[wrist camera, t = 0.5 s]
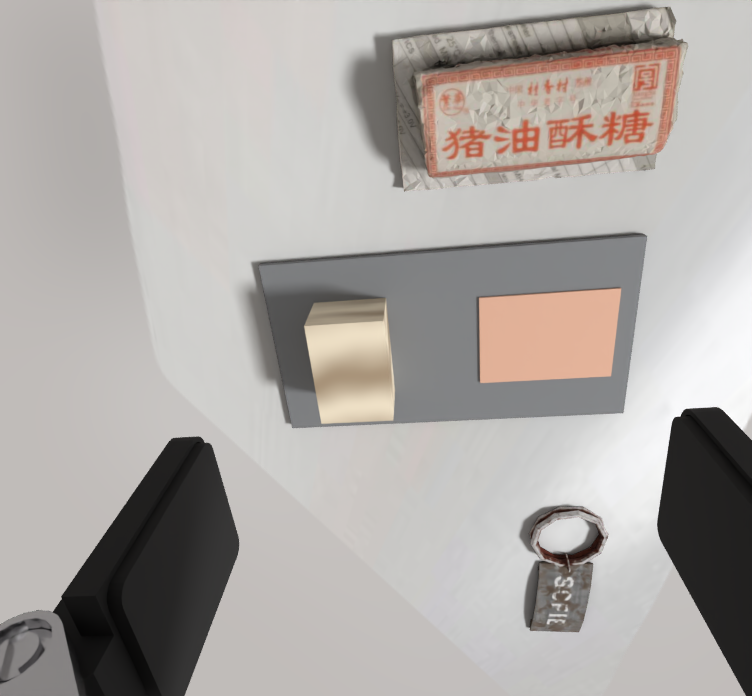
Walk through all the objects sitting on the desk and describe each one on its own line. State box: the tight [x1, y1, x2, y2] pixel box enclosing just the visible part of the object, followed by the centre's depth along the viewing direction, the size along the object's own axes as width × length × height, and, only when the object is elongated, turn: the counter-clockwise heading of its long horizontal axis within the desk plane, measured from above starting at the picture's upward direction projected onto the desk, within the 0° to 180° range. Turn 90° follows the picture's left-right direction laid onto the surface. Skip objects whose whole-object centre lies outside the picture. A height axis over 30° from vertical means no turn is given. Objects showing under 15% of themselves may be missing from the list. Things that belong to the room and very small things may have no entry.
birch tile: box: [304, 298, 395, 424], centre depth 44 cm, size 9×6×4 cm, turn 6°
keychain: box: [529, 507, 608, 632], centre depth 58 cm, size 8×19×2 cm, turn 2°
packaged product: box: [392, 7, 688, 192], centre depth 36 cm, size 18×5×10 cm
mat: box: [259, 234, 647, 428], centre depth 46 cm, size 16×30×1 cm, turn 96°
